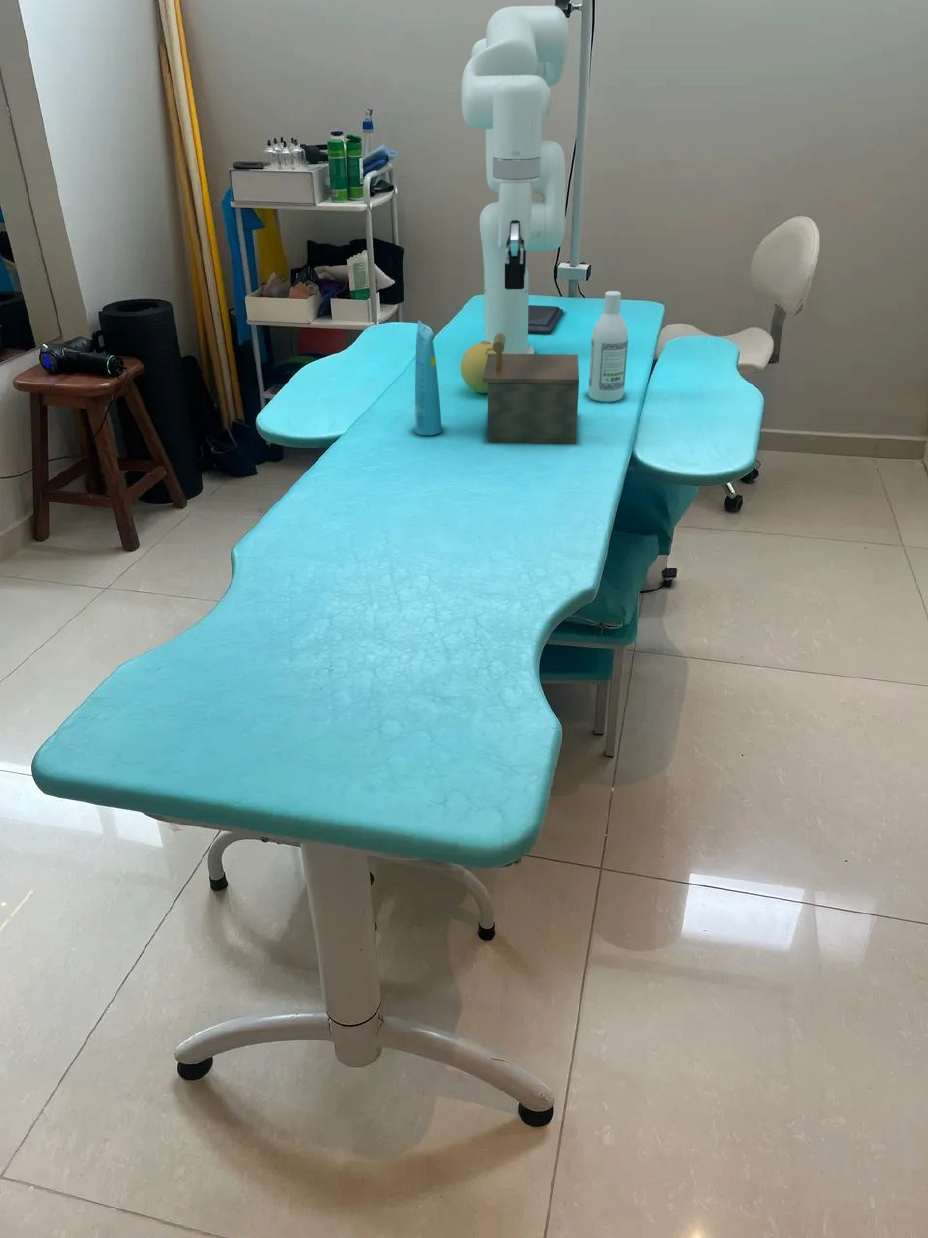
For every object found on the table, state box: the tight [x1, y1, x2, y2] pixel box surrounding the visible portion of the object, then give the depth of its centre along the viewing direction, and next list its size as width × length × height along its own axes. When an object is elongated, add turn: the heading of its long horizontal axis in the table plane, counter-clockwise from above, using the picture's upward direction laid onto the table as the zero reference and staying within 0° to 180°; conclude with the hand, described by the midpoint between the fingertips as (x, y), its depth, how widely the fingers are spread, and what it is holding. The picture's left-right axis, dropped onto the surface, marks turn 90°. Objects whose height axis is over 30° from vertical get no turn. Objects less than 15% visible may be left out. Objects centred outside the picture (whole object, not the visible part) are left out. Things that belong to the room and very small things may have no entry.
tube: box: [414, 319, 442, 436], centre depth 163 cm, size 7×5×19 cm, turn 26°
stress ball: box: [460, 340, 507, 394], centre depth 182 cm, size 10×10×10 cm
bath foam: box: [587, 290, 629, 403], centre depth 176 cm, size 7×7×20 cm
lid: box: [483, 333, 580, 385], centre depth 161 cm, size 16×14×6 cm
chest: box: [487, 383, 580, 445], centre depth 165 cm, size 16×14×11 cm
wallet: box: [528, 304, 564, 335], centre depth 225 cm, size 20×2×15 cm
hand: (515, 281), depth 155 cm, fingers open, 9 cm apart
